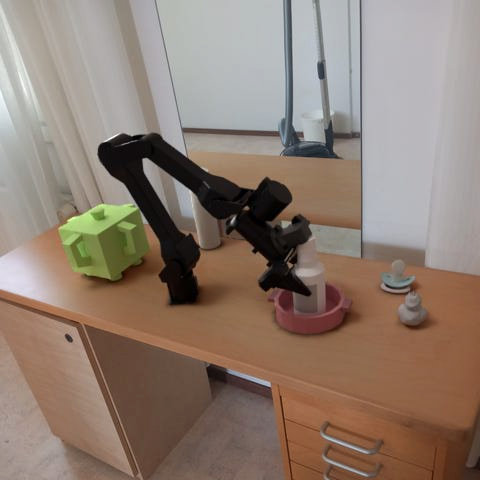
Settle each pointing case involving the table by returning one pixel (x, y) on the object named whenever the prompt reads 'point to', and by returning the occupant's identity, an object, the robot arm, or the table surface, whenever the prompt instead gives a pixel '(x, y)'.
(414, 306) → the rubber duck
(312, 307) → the spray bottle
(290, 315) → the pot
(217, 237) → the paper towel roll
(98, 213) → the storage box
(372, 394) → the table surface
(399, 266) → the pacifier
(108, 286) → the table surface
